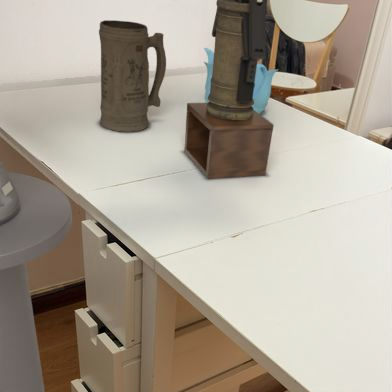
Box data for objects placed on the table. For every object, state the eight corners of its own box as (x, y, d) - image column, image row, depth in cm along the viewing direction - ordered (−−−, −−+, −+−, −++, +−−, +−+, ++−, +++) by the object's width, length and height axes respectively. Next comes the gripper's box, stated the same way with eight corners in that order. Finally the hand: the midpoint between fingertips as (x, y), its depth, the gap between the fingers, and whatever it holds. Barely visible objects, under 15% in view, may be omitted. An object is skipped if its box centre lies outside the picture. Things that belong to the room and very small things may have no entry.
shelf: (207, 179, 99) (212, 126, 93) (184, 151, 109) (187, 103, 103) (265, 175, 103) (273, 124, 97) (237, 149, 113) (243, 101, 107)
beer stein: (116, 135, 113) (120, 27, 101) (87, 121, 119) (88, 17, 107) (170, 129, 122) (180, 29, 110) (142, 116, 128) (148, 20, 116)
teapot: (199, 117, 128) (203, 60, 120) (200, 96, 142) (204, 44, 134) (270, 123, 128) (279, 67, 120) (264, 101, 142) (272, 50, 134)
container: (253, 123, 96) (270, 6, 85) (204, 118, 96) (214, 1, 85) (252, 109, 103) (268, -1, 92) (206, 104, 103) (216, -6, 92)
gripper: (304, -50, 76) (277, 110, 90) (241, -63, 93) (226, 75, 107) (257, -54, 74) (237, 111, 88) (201, -66, 90) (191, 75, 104)
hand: (231, 91), depth 97 cm, fingers open, 11 cm apart
